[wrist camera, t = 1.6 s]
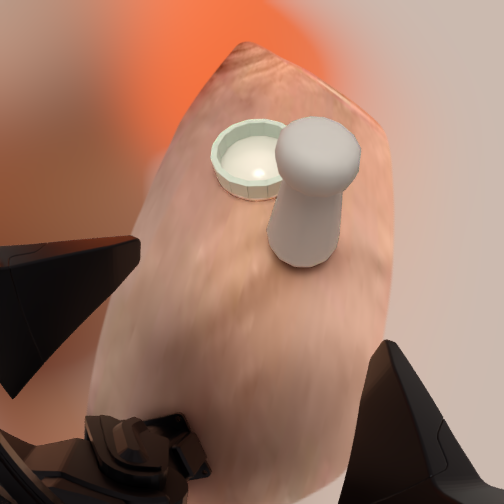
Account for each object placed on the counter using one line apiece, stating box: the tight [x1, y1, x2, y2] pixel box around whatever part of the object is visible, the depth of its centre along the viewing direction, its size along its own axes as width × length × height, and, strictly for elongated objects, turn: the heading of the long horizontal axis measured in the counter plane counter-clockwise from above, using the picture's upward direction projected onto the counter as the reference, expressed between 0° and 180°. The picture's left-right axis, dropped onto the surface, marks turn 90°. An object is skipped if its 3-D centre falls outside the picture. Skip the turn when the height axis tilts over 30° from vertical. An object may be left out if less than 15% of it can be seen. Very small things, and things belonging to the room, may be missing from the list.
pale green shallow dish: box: [211, 119, 286, 201], centre depth 26 cm, size 9×9×2 cm
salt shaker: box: [267, 116, 361, 267], centre depth 17 cm, size 6×6×13 cm
